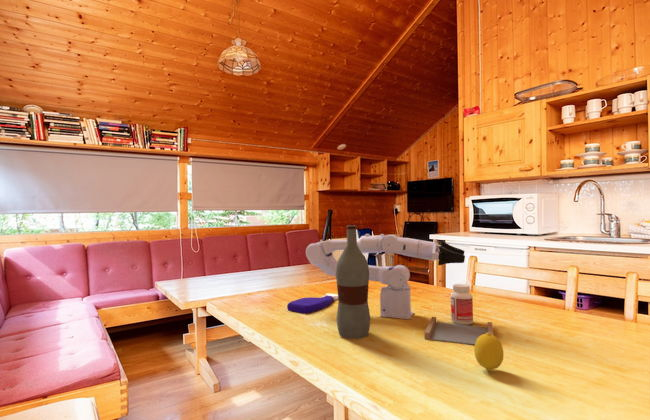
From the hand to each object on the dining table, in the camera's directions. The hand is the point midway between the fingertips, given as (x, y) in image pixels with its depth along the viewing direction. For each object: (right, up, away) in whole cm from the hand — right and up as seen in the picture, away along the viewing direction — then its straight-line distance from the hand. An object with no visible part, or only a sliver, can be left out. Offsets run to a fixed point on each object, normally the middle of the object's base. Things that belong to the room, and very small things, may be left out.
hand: (464, 256), depth 111 cm
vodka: (-35, -20, -10) cm, 41 cm away
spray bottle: (-45, -21, +23) cm, 55 cm away
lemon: (-8, -20, -35) cm, 41 cm away
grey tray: (-6, -19, -12) cm, 24 cm away
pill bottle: (-1, -20, -2) cm, 20 cm away
